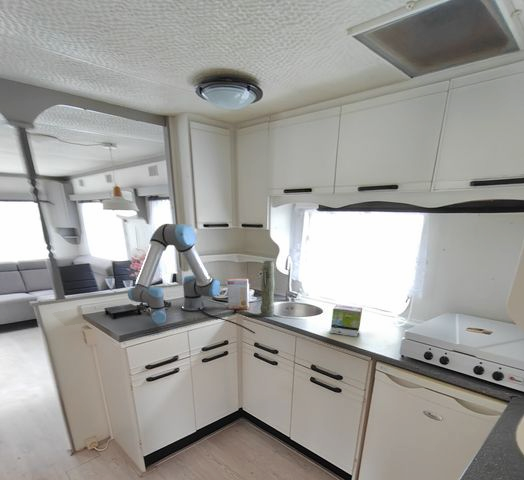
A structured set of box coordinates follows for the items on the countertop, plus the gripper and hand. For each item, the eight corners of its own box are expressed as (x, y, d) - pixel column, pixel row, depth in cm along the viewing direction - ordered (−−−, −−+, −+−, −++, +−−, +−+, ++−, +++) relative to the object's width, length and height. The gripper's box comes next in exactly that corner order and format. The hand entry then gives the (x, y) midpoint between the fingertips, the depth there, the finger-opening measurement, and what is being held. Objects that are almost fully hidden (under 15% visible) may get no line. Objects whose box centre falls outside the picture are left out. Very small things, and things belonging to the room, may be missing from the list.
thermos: (276, 313, 222) (277, 260, 208) (271, 317, 211) (272, 262, 198) (263, 312, 224) (264, 259, 211) (258, 316, 214) (258, 262, 200)
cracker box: (248, 307, 234) (248, 278, 226) (247, 310, 228) (247, 280, 220) (229, 307, 235) (229, 278, 227) (228, 309, 230) (227, 279, 222)
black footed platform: (141, 314, 215) (140, 308, 214) (113, 319, 204) (112, 313, 202) (132, 309, 226) (131, 303, 225) (105, 313, 215) (104, 307, 213)
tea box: (330, 333, 184) (332, 308, 178) (333, 328, 193) (335, 304, 187) (357, 337, 179) (360, 311, 173) (359, 331, 188) (362, 306, 182)
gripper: (134, 319, 186) (133, 310, 204) (178, 315, 195) (173, 306, 213) (132, 306, 183) (131, 298, 201) (177, 303, 192) (172, 295, 210)
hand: (153, 302), depth 207 cm, fingers open, 13 cm apart
